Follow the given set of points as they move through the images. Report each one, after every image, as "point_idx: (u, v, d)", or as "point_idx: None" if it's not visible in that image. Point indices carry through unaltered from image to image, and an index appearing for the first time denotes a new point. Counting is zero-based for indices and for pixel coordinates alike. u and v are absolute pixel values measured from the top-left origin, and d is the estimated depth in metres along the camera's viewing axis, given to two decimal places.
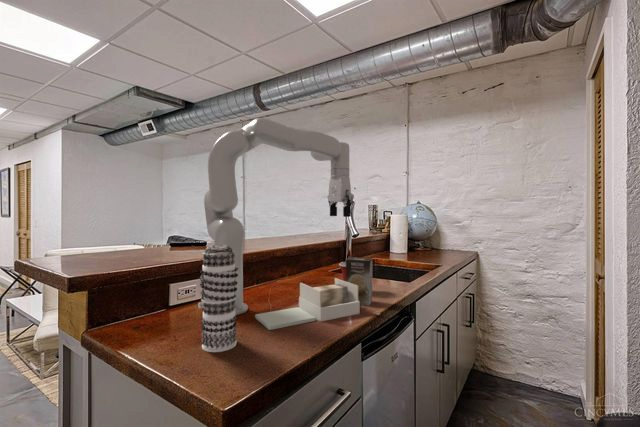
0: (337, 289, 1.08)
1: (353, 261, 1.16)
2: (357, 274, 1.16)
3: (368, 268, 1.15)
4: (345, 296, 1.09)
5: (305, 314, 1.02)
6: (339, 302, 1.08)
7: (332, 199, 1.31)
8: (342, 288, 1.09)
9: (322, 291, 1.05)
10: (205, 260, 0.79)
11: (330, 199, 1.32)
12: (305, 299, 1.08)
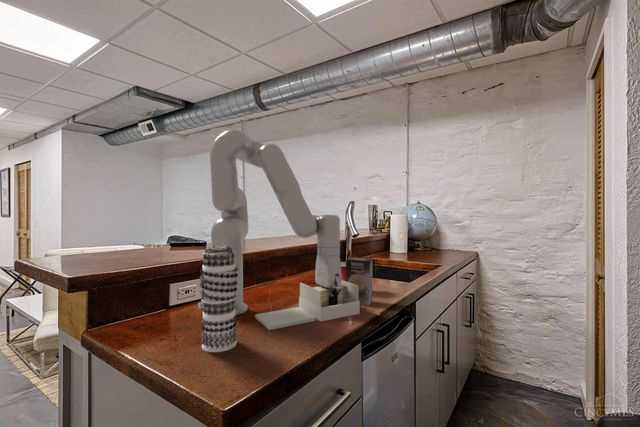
0: None
1: (353, 261, 1.16)
2: (357, 274, 1.16)
3: (368, 268, 1.15)
4: (345, 296, 1.09)
5: (305, 314, 1.02)
6: (339, 302, 1.08)
7: (319, 282, 1.09)
8: (342, 288, 1.09)
9: (322, 291, 1.05)
10: (205, 260, 0.79)
11: (317, 281, 1.10)
12: (305, 299, 1.08)
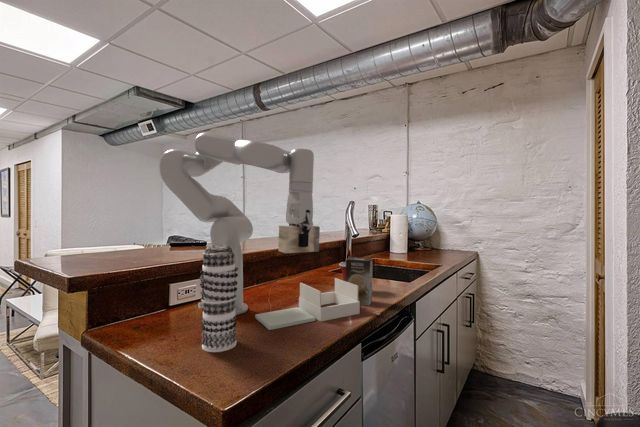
0: None
1: (353, 261, 1.16)
2: (357, 274, 1.16)
3: (368, 268, 1.15)
4: (317, 236, 1.04)
5: (305, 314, 1.02)
6: (310, 242, 1.03)
7: (289, 221, 1.03)
8: (314, 227, 1.03)
9: (292, 227, 0.99)
10: (205, 260, 0.79)
11: (287, 220, 1.04)
12: (305, 299, 1.08)
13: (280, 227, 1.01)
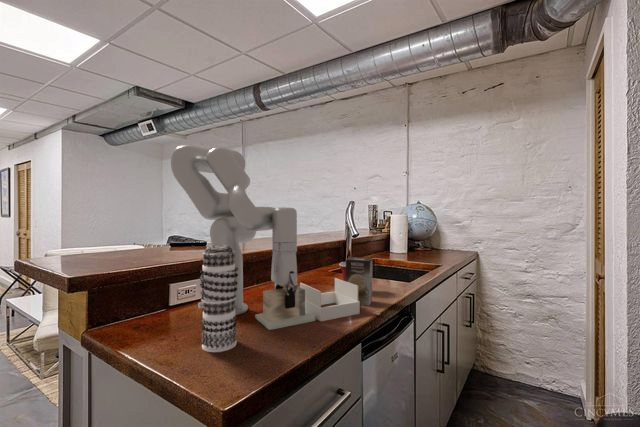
0: None
1: (353, 261, 1.16)
2: (357, 274, 1.16)
3: (368, 268, 1.15)
4: (302, 300, 1.01)
5: (305, 314, 1.02)
6: (295, 306, 1.00)
7: (274, 280, 1.01)
8: (299, 291, 1.01)
9: (275, 294, 0.97)
10: (205, 260, 0.79)
11: (272, 279, 1.02)
12: (305, 299, 1.08)
13: (264, 293, 0.99)
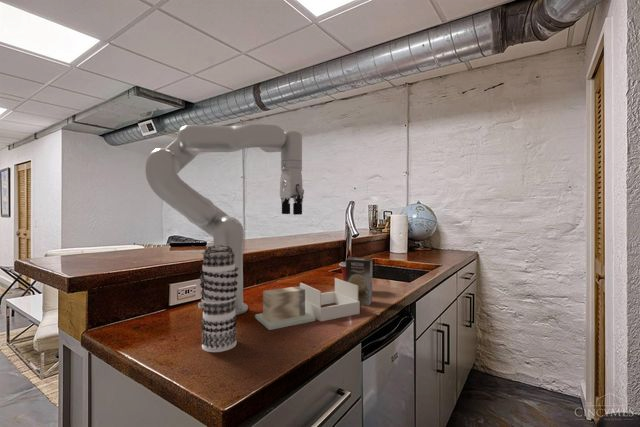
0: (293, 292, 1.00)
1: (353, 261, 1.16)
2: (357, 274, 1.16)
3: (368, 268, 1.15)
4: (302, 300, 1.01)
5: (305, 314, 1.02)
6: (295, 306, 1.00)
7: (282, 195, 1.17)
8: (299, 291, 1.01)
9: (275, 294, 0.97)
10: (205, 260, 0.79)
11: (281, 195, 1.18)
12: (305, 299, 1.08)
13: (264, 293, 0.99)
